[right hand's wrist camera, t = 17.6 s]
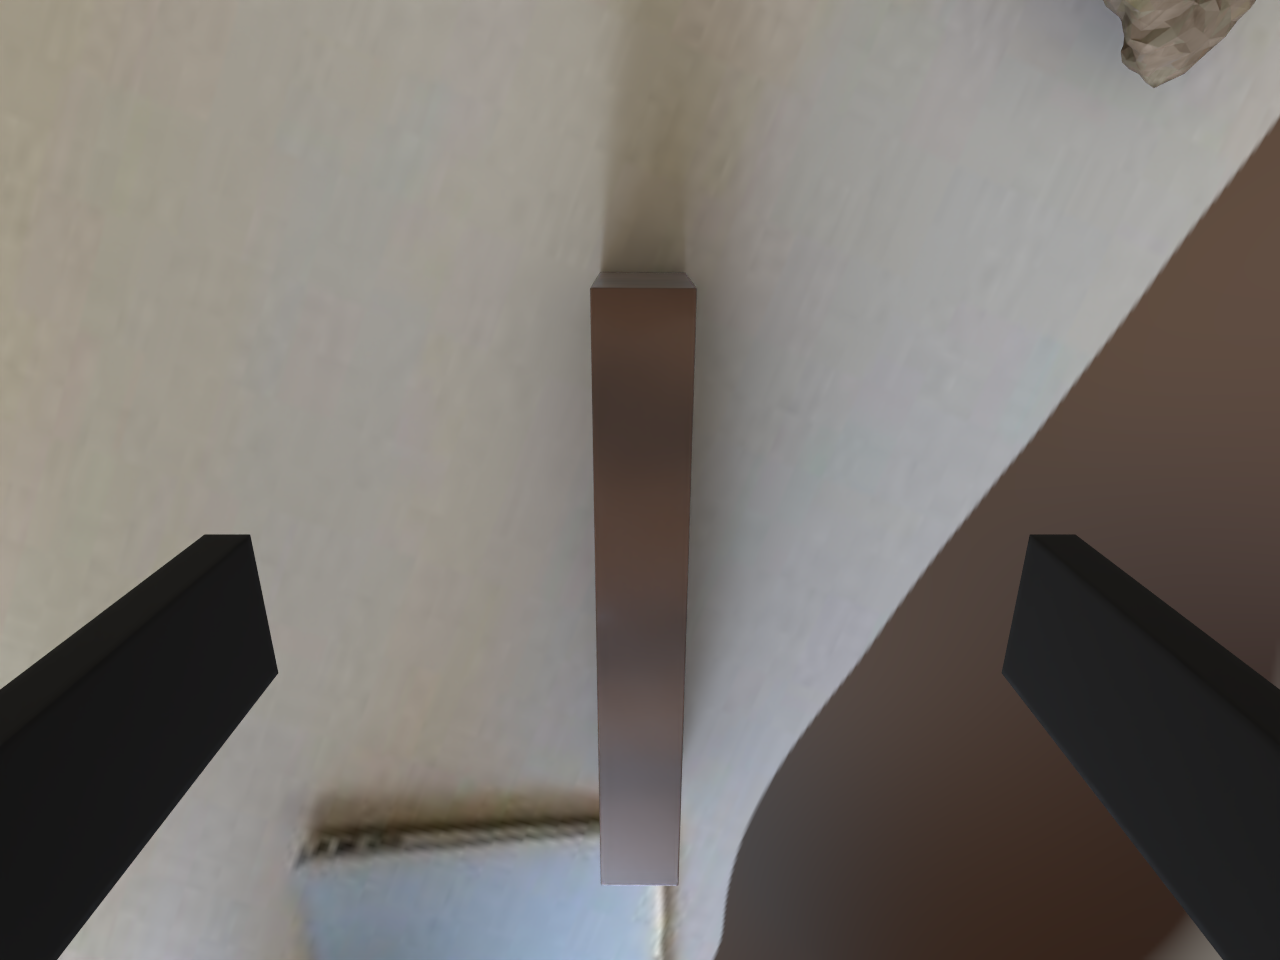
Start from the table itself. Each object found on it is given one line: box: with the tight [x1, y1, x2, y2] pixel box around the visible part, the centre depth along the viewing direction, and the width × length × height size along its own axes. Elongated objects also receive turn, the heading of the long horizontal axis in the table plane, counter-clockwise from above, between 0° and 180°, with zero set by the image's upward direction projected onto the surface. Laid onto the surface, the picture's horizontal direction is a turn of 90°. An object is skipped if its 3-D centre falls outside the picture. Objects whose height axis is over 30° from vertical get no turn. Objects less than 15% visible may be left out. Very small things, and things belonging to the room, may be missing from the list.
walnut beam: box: [590, 272, 697, 886], centre depth 36 cm, size 30×4×7 cm, turn 0°
